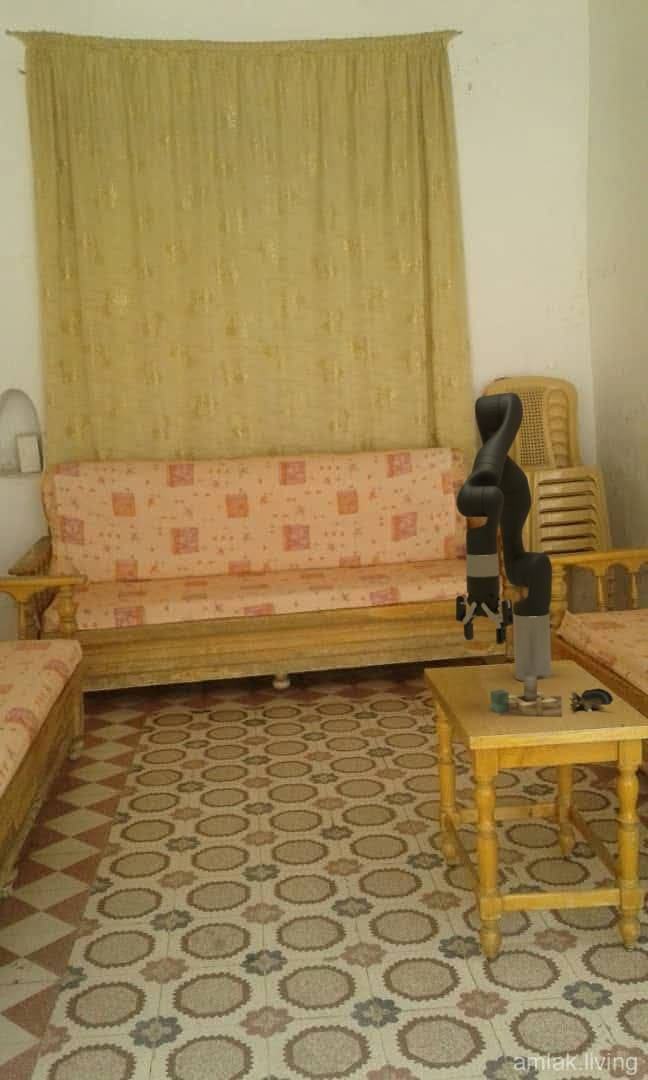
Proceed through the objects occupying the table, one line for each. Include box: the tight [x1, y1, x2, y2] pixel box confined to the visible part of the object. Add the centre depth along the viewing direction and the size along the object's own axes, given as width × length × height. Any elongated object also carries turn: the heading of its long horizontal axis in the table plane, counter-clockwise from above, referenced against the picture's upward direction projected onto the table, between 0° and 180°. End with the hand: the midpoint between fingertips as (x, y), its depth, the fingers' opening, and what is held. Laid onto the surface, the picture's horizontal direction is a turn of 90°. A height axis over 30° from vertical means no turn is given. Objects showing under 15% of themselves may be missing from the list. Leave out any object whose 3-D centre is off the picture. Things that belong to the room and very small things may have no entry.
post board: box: [498, 675, 563, 718], centre depth 246 cm, size 17×14×8 cm
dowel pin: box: [537, 698, 542, 716], centre depth 238 cm, size 1×1×4 cm
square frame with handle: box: [490, 689, 558, 714], centre depth 245 cm, size 14×9×4 cm, turn 108°
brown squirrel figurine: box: [568, 688, 614, 713], centre depth 241 cm, size 8×7×9 cm
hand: (485, 641), depth 244 cm, fingers open, 8 cm apart
